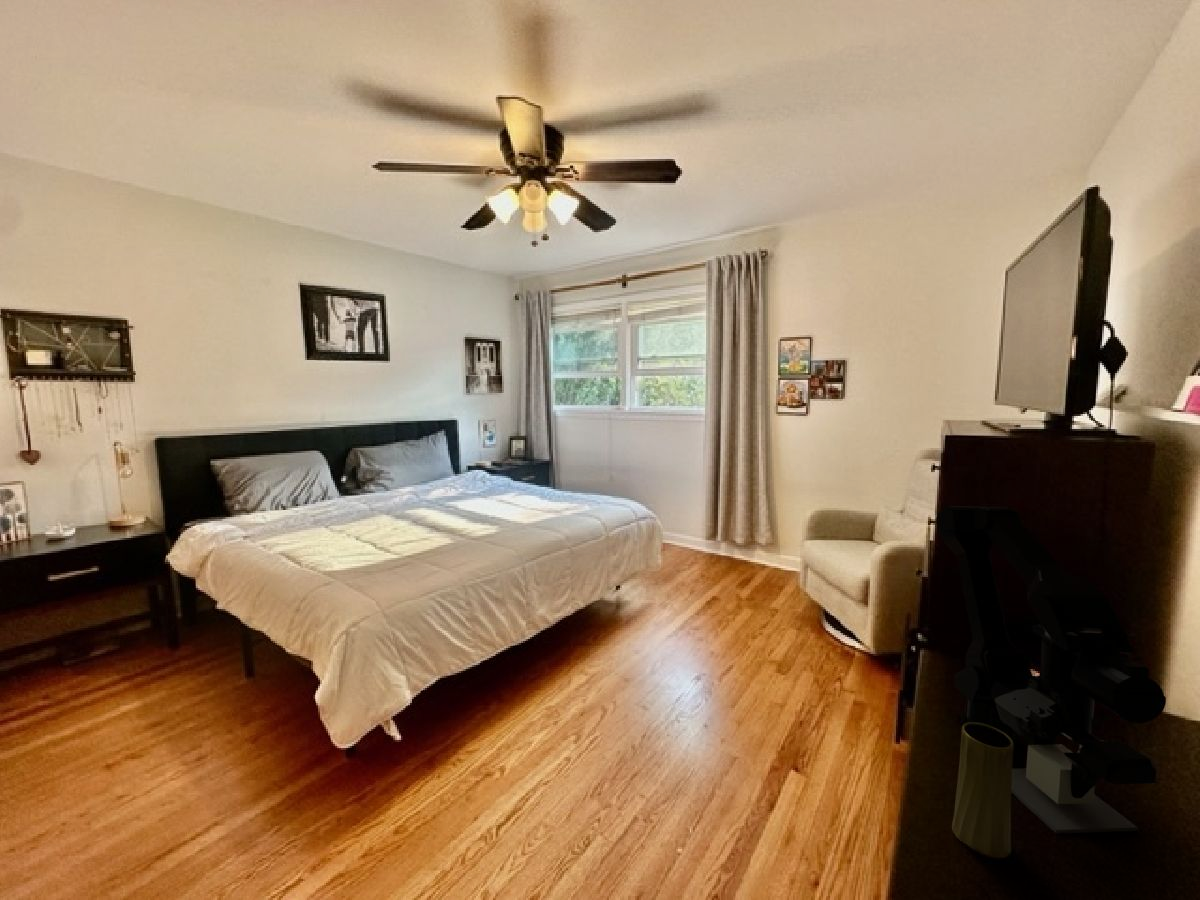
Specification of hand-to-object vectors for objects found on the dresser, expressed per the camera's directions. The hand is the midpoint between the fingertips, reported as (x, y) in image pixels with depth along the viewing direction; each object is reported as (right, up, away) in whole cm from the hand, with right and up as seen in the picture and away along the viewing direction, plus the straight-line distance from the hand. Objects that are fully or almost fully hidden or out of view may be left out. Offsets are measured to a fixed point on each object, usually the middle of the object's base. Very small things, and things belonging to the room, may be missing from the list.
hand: (1058, 782), depth 71 cm
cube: (0, -1, 0) cm, 1 cm away
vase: (-16, -3, -6) cm, 17 cm away
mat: (0, -3, 0) cm, 2 cm away
